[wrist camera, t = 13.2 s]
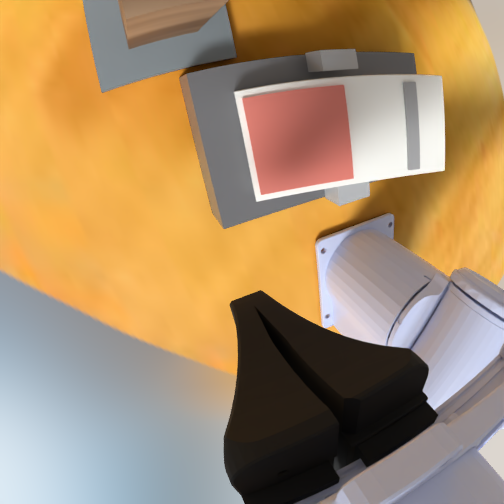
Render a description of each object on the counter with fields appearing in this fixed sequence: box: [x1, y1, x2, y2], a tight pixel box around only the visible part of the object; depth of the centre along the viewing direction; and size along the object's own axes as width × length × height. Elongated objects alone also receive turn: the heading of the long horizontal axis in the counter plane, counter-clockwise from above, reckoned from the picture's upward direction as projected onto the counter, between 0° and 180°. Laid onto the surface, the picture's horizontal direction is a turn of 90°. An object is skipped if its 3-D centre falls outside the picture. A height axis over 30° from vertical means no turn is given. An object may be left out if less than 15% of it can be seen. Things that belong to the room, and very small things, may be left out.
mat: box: [83, 0, 237, 93], centre depth 14 cm, size 8×8×1 cm
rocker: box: [234, 74, 445, 202], centre depth 16 cm, size 6×12×1 cm, turn 100°
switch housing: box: [179, 49, 417, 229], centre depth 19 cm, size 9×16×4 cm, turn 100°
